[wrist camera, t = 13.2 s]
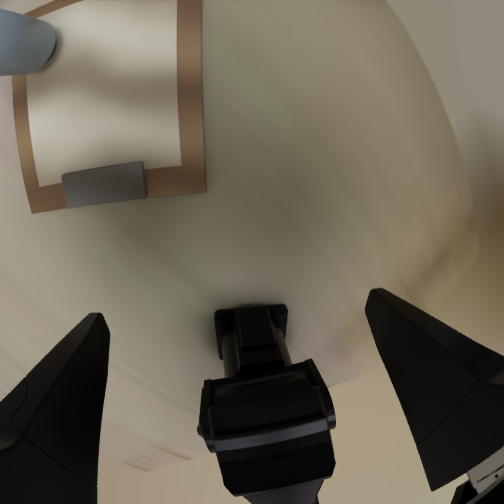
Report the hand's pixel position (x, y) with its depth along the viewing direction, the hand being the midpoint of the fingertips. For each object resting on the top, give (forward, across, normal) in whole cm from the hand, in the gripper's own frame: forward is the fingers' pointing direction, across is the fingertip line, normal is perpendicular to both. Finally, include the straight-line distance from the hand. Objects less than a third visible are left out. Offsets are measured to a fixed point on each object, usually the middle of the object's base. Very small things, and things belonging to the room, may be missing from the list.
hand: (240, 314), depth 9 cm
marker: (+12, +12, -12) cm, 21 cm away
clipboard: (+12, +8, -8) cm, 17 cm away
